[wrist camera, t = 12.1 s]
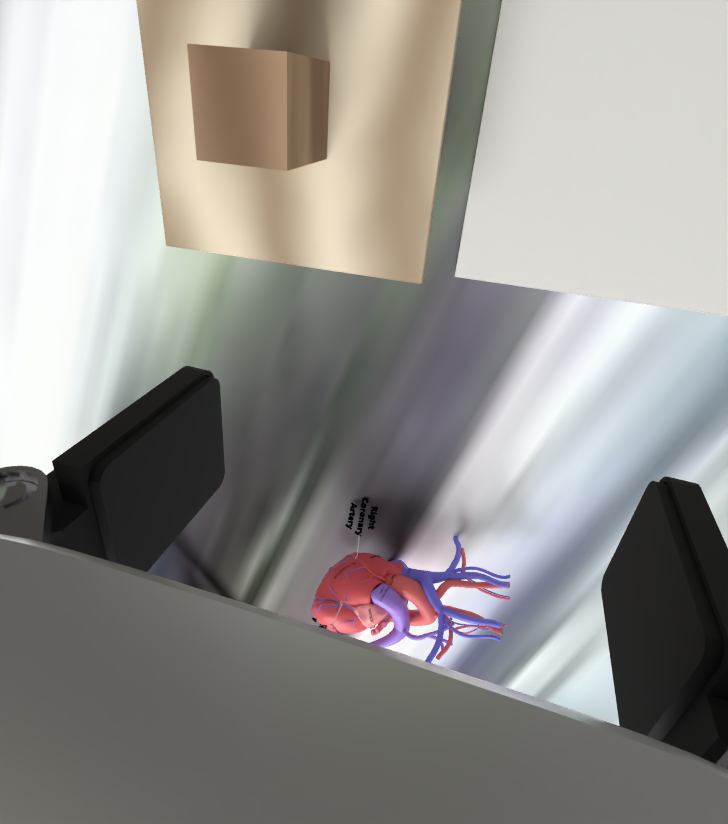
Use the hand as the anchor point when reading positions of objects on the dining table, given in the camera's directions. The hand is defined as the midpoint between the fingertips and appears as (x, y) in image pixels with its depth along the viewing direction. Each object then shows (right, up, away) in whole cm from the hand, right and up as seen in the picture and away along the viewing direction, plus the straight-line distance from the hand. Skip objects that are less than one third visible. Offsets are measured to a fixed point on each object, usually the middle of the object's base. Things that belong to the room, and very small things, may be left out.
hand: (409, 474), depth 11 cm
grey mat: (+15, +17, +17) cm, 28 cm away
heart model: (+3, -10, +37) cm, 39 cm away
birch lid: (-4, +16, +14) cm, 22 cm away
